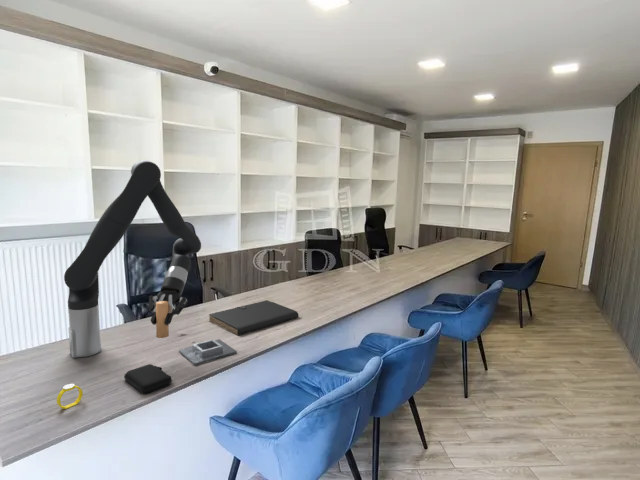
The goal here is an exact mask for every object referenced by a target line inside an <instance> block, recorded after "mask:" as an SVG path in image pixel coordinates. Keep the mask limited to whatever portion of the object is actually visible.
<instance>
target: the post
mask: <svg viewBox="0 0 640 480" xmlns="http://www.w3.org/2000/svg"><path fill="white" fill-rule="evenodd" d="M158 301H159V300H158ZM158 301H156V303H155V307H156V324H155V326H156V327H155V329H156V330H155V331H156V333H155V334H156V338H158V339H165V338H167V337H169V336H170V333H169V332H170V330H169V329H170V328H169V327H170V326H169V325H170V324H169V325H165V324H164V322H165V319H166V316H167V313H169V307H168V302H167V301H159V302H158Z"/></svg>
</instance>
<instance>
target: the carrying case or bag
mask: <svg viewBox="0 0 640 480" xmlns="http://www.w3.org/2000/svg"><path fill="white" fill-rule="evenodd" d="M123 378H124V380H126V382H128V383H129V384H130V385H132V386H133V387H134V388H135V389H137V390H138V391H139V392H140V393H142V394H144V395H146V394H150V393H153V392H154V391H157V390H161V389H162V388H165V387H168V386H169V385H171V383H172V381H173V379H172V376H171V375H169V374H167V372H165V371H164V370H163V368H162V367H161V366H157V365H153V364H151V363H150V364H146V365H145V364H144V365H142V366H140V367H136V368H134V369H131V370H128V371H127V372H126V373H125V374H124V377H123Z"/></svg>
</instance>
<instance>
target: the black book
mask: <svg viewBox="0 0 640 480" xmlns="http://www.w3.org/2000/svg"><path fill="white" fill-rule="evenodd" d="M208 315H209V316H208V319H209V320H208V322H210V323H212V324H214V325H216V326H218V327H219V328H222V329H224V330H226V331H228V332H231V333H232V334H234V335H235V336H238V337H239V336H242V335H245V334H250V333H252V332H255V331H258V330H261V329H265V328H268V327H271V326H275V325H279V324H282V323H284V322H287V321H291V320H295V319H298V318H299V313H298V311H296V310H294V309H291V308H290V307H287V306H284V305H281V304H279V303H276V302H275V301H274V302H273V301H270V300H268V299H267V300H263V301H262V300H261V301H258V302H254V303H250V304H246V305H241V306H236V307H233V308H230V309H229V308H228V309H225V310H220V311H217V312H213V313H209V314H208Z"/></svg>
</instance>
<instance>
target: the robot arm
mask: <svg viewBox="0 0 640 480" xmlns="http://www.w3.org/2000/svg"><path fill="white" fill-rule="evenodd" d="M130 173H131V174H130V177H129V180H128V181H127V184H126V186H125V187H124V189H123V190H122V192H121V193H120V194H119V195H118V196H117V197H115V199H114V200H113V201H112V202H111V203H110V205H109V206H108V207H107V208H106V209H105V210H104V212H103V213H102V214H101V217H100V218H99V219H98V221H97V222H96V224H95V226H94V228H93V230H92V232H91V234H90V235H89V238H88V240H87V242H86V244H85V246H84V247H83V249H82V250H81V252H80V253H79V254H78V255H77V257H76V258H75V259H74V261H73V262H72V264H70V266H69V267H68V268H67V269H66V270H65V272H64V275H63V280H64V283H65V285H66V286H67V287H68V290H69V291H68V299H67V309H68V310H67V311H68V313H67V314H68V326H69V327H68V341H69V352H70V353H69V354H70V355H71V357H72V359H74V358H85V357H90V356H93V355H96V354H98V353H100V352H101V350H102V344H101V343H102V341H101V325H100V324H101V323H100V310H99V309H100V308H99V305H100V304H99V298H100V297H99V295H100V289H99V271H100V269H101V266H102V265H103V263H104V261H105V259H106V258H107V257H108V255H110V253H111V252H112V251H113V250H114V249H115V247H116V246H117V245H118V243H119V242H120V241H121V240H122V238H123V237H124V236H125V234H126V232H127V230H128V229H129V228H130V226H131V225H132V223H133V220H134V219H135V218H136V215H137V214H138V211H139V209H140V208H141V206H142V204H143V202H144V201H145V200H146V198H147V197H148V199H150V201H151V203H152V205H153V206H154V208H155V210H156V213H157V214H158V216H159V218H160V220H161V221H162V223H163V226H164V227H165V228H166V230H167V232H168V234H170V236H171V237H172V236H173V237H179V238H178V239H176V240H175V241H174V243H173V245H172V260H171V262H170V265H169V268H168V270H167V271H166V273H165V276H164V279H163V281H162V285H161V287H160V290H159V292H158V294H157V295H154V296H153V295H149V297H148V310H149V311H150V312H151V313H152V314H151V315H152V316H151V317H150V322H151V324H152V325H155V326H156V302H159V301H167V302H168V313H167V316H166V319H165V322H164V324H165V325H170V324H171V322H172V320H173V317H174V316H176V315H178V316H179V315H180V314H181V312H182V311H183V309H185V307H186V305H187V304H188V299H187V298H186V297H185V296H184V297H182V295H183V291H184V288H185V285H186V283H187V279H188V274H189V272H190V268H191V265H192V260H191V258H190V257H189V256H188V255H193V254H197V253H199V252H200V251H201V249H202V243H201V239H200V238H199V236H198V235H197V234H196V233H195V232H194V231H193V230H192V229H191V228H190V227H189V226H188V225H187V224H186V222H185V220H184V218H183V217H182V215H181V213H180V211H179V209H178V208H177V207H176V205H175V203H173V201H172V200H171V198H170V197H169V195H168V194H167V192H166V190H165V189H164V186H163V185H162V181H161V176H162V173H161V170H160V167H159V166H158V165H157V164H156V163H154V161H153V162H152V161H150V160H146V159H140V160H138V161H136V162H134V163H133V165H132V166H131V168H130ZM157 300H158V301H157ZM176 304H177V305H176Z"/></svg>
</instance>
